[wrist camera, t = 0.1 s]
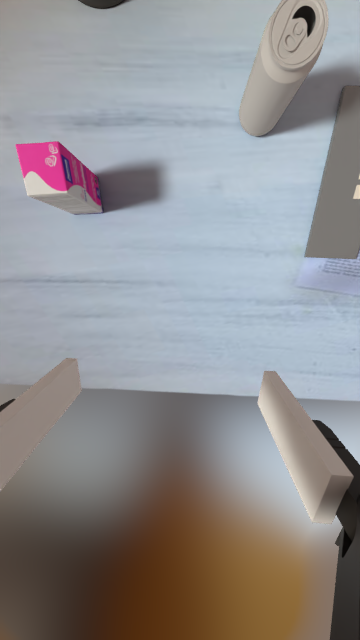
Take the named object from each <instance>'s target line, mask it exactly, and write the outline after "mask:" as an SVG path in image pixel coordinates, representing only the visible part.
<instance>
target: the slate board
mask: <svg viewBox="0 0 360 640" xmlns="http://www.w3.org/2000/svg"><path fill="white" fill-rule="evenodd" d="M359 247H360V86H345V87H344V88H343V89H342V94H341V98H340V103H339V107H338V111H337V116H336V120H335V125H334V129H333V133H332V138H331V142H330V146H329V151H328V155H327V160H326V164H325V168H324V173H323V177H322V182H321V186H320V190H319V195H318V199H317V204H316V208H315V212H314V217H313V221H312V225H311V230H310V234H309V239H308V243H307V247H306V252H305V256H304V257H316V258H342V259H356V257H357V254H358V251H359Z"/></svg>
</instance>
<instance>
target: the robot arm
mask: <svg viewBox="0 0 360 640" xmlns="http://www.w3.org/2000/svg"><path fill="white" fill-rule="evenodd" d="M79 1H80V2H82V3H84V4H86V5H89V6H92V7H97V8H106V7H110V6H114V5H116V4H118V3H120V2H121V1H123V0H79ZM81 391H82V390H81V383H80V376H79V369H78V362H77V359H73V358H66V359H65V360H64V361H62V362H61V363H60V364H59V365H57V366H56V367H55V368H54V369H52V370H51V371H50V372H49V373H48V374H46V375H45V376H44V377H43V378H41V379H40V380H39V381H38V382H37V383H35V384H34V385H33V386H32V387H31V388H29V389H28V390H27V391H26V392H25V393H23V394H22V395H21V396H19V397H18V398H17V399H12V400H10V401H8V402H6V403H5V404H3V405H1V406H0V491H1V490H2V489H3V487H4V486H5V485H6V484H7V482H8V481H9V480H10V479H11V478H12V476H13V475H14V474H15V473H16V471H17V470H18V469H19V468H20V466H21V465H22V464H23V463H24V462H25V460H26V459H27V458H28V457H29V455H30V454H31V453H32V451H33V450H34V449H35V448H36V447H37V445H38V444H39V443H40V442H41V441H42V439H43V438H44V437H45V436H46V434H47V433H48V432H49V431H50V429H51V428H52V427H53V425H54V424H55V423H56V422H57V421H58V419H59V418H60V417H61V416H62V415H63V413H64V412H65V411H66V410H67V408H68V407H69V406H70V404H71V403H72V402H73V401H74V400H75V398H76V397H77V396H78V395H79V394H80V392H81ZM258 405H259V407H260V410H261V412H262V414H263V416H264V418H265V421H266V423H267V425H268V427H269V429H270V432H271V434H272V436H273V438H274V440H275V443H276V445H277V447H278V449H279V451H280V453H281V455H282V458H283V460H284V462H285V464H286V467H287V469H288V471H289V473H290V475H291V478H292V480H293V482H294V484H295V486H296V488H297V491H298V493H299V495H300V497H301V499H302V502H303V503H304V506H305V508H306V510H307V512H308V514H309V517H310V519H311V521H312V522H313V523H324V524H332V522H333V520H334V518H335V516H336V515H337V517H338V519H339V520H340V522H341V524H342V526H343V528H342V530H341V532H340V534H339V536H338V538H337V540H336V542H335V544H336V545H337V546H339V554H338V564H337V573H336V583H335V593H334V604H333V613H332V623H331V632H330V640H360V465H359V464H358V462H357V461H356V460H355V459H354V457H353V456H352V455H351V454H350V452H349V451H348V450H347V449H345V446H344V445H343V444H342V443H341V441H339V439H338V438H337V436H336V435H335V434H334V433H333V431H332V430H331V429H330V428H328V427H327V426H326V425H325V424H324V423H322V422H321V421H318V420H311V418H310V417H309V416H308V415H307V413H306V412H305V410H304V409H303V408H302V407H301V405H300V404H299V402H298V401H297V400H296V398H295V397H294V395H293V394H292V393H291V391H290V390H289V389H288V387H287V386H286V385H285V383H284V382H283V381H282V379H281V378H280V377H279V375H278V374H277V373H276V372H275V371H264V375H263V380H262V385H261V389H260V394H259V399H258Z"/></svg>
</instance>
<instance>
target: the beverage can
mask: <svg viewBox="0 0 360 640" xmlns="http://www.w3.org/2000/svg"><path fill="white" fill-rule="evenodd" d="M327 29H328V10H327V6H326V3H325V1H324V0H282V1H281V3H280V4H279V5H278V7H277V9H276V11H275V12H274V13H273V15H272V16H271V18H270V19H269V21H268V23H267V25H266V27H265V30H264V33H263V36H262V39H261V42H260V45H259V48H258V51H257V54H256V57H255V60H254V64H253V67H252V70H251V73H250V76H249V79H248V82H247V85H246V88H245V91H244V94H243V97H242V101H241V104H240V109H239V118H240V123H241V125H242V127H243V129H244V130H245V131H246V132H247V133H248V134H250V135H253V136H261V135H264V134H266V133H268V132H269V131H271V130H272V129H273V127H274V126H275V125H276V123H277V122H278V120H279V119H280V117H281V116H282V114H283V113H284V111H285V109H286V108H287V106H288V105H289V103H290V102H291V100H292V99H293V97H294V96H295V94H296V92H297V91H298V89H299V88H300V86H301V85H302V83H303V82H304V80H305V78H306V77H307V75H308V74H309V72H310V71H311V69H312V68H313V66H314V64H315V63H316V61H317V59H318V57H319V55H320V52H321V49H322V45H323V42H324V40H325V37H326V33H327Z"/></svg>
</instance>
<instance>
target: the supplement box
mask: <svg viewBox="0 0 360 640" xmlns="http://www.w3.org/2000/svg"><path fill="white" fill-rule="evenodd" d="M16 149H17V153H18V158H19V162H20V166H21V170H22V174H23V178H24V182H25V186H26V190H27V195H28V196H29V197H32V198H34V199H37V200H39V201H42V202H44V203H47V204H49V205H52V206H54V207H57V208H59V209H62V210H64V211H67V212H69V213H72V214H75V215H76V214H96V213H103V208H102V203H101V196H100V189H99V181H98V177H97V176H96V175H94V174H93V173H92V172H91V171H90V170H89V169H88V168H87V167H86V166H85V165H83V164H82V163H81V162H80V161H79V160H78V159H77V158H76V157H75V156H74V155H73V154H71V153H70V152H69V151H68V150H67V149H66V148H65V147H64V146H63V145H62V144H61V143H60V142H45V143H31V144H16Z"/></svg>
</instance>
